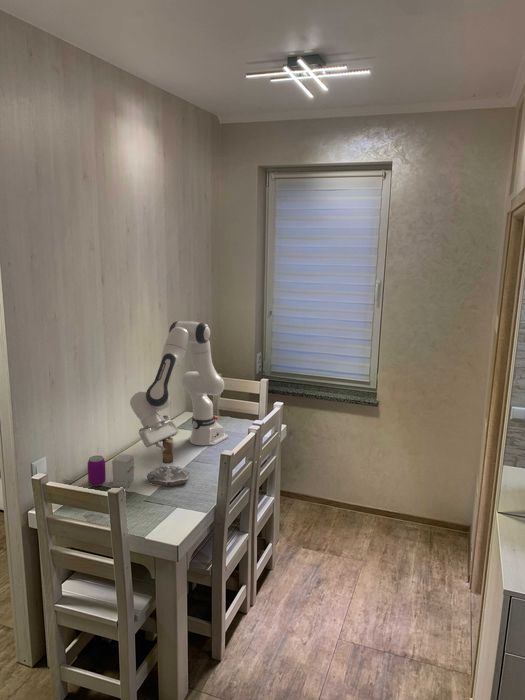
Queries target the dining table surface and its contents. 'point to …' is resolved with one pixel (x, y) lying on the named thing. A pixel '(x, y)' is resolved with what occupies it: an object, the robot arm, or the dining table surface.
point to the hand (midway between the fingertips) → (169, 448)
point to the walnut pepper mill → (168, 451)
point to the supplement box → (123, 470)
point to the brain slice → (168, 476)
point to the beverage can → (96, 471)
